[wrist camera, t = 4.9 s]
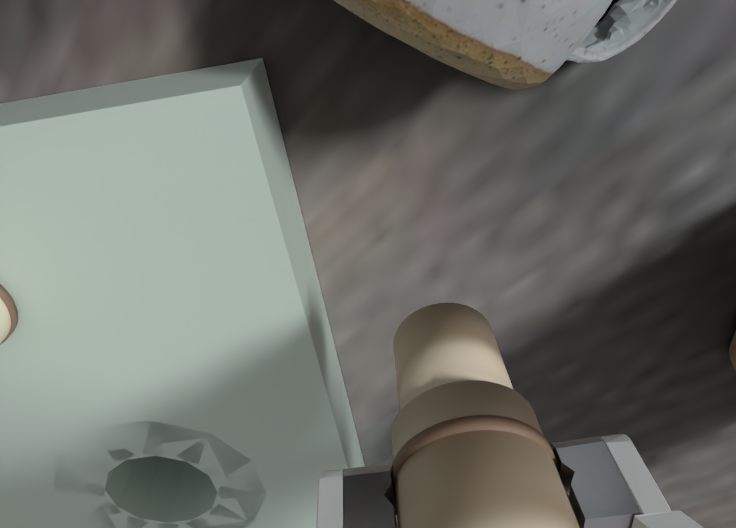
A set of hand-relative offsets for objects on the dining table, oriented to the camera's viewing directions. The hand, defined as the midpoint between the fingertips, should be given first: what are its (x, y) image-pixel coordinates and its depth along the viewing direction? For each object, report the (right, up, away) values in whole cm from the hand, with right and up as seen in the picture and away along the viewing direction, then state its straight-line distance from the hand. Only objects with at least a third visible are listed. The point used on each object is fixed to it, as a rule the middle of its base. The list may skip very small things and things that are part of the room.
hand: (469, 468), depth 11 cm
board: (-12, +1, +12) cm, 17 cm away
